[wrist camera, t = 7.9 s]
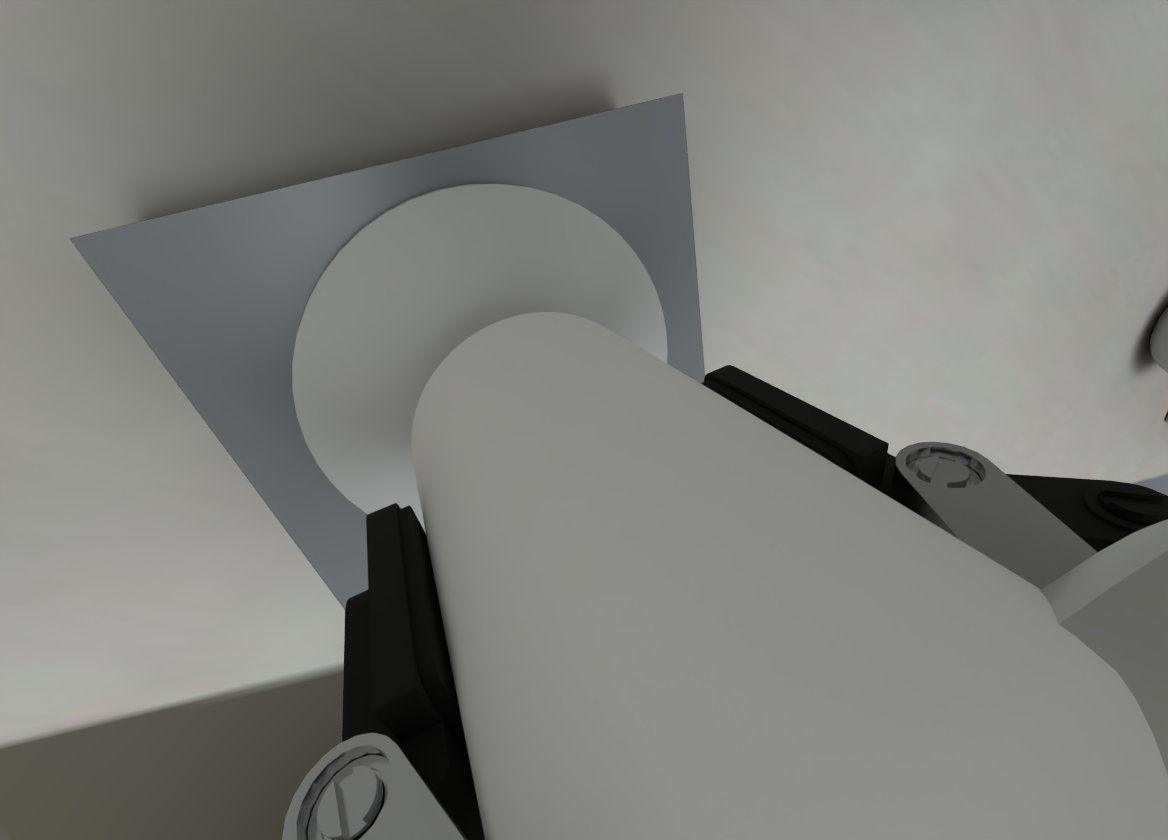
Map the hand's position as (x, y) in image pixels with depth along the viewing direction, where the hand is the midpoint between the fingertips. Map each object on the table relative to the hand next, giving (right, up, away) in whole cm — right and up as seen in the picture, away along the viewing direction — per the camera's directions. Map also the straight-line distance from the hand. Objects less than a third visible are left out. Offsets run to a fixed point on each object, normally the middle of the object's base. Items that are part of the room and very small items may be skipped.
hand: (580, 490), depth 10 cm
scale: (-4, +4, +8) cm, 10 cm away
